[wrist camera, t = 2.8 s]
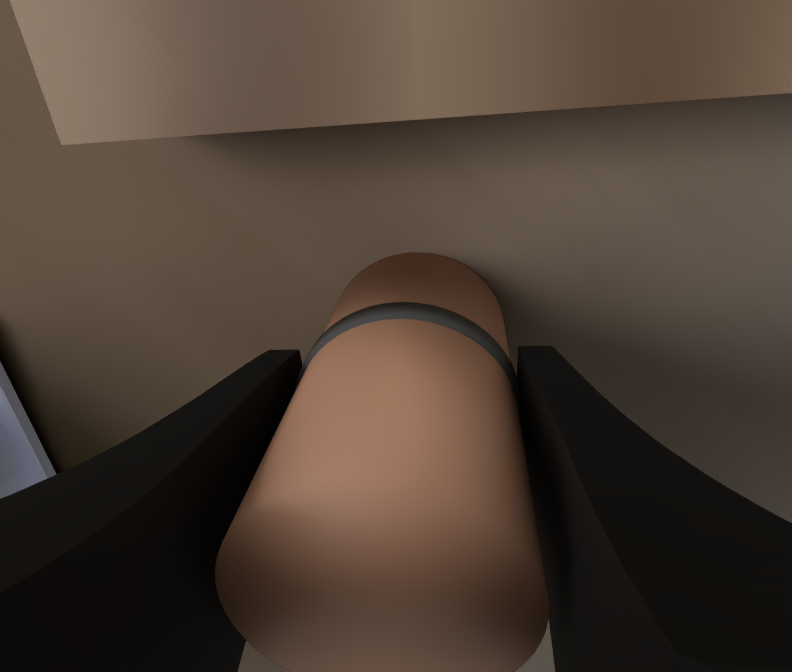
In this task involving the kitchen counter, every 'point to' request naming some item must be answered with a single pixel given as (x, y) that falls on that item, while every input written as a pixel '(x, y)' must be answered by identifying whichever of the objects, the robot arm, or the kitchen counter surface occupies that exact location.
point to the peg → (394, 491)
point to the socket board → (385, 59)
